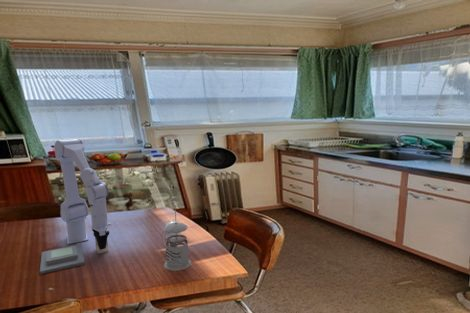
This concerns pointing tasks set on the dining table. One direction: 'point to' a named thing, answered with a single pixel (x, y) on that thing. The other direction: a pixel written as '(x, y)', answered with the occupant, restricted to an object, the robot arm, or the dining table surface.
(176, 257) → the french press
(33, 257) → the dining table surface
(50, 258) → the stepped stand
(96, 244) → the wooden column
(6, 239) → the dining table surface
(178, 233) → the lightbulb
